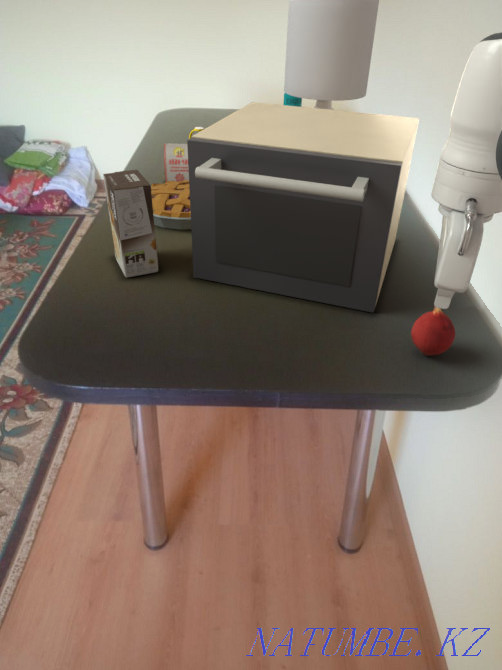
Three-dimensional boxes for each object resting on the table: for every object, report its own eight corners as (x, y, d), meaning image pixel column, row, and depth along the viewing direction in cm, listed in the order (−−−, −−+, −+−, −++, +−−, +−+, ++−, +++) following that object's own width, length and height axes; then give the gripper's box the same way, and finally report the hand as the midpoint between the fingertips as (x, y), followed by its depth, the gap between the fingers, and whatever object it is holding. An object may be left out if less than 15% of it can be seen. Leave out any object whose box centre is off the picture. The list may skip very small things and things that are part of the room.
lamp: (367, 162, 150) (392, -3, 127) (335, 182, 136) (356, -1, 112) (302, 149, 160) (315, -6, 137) (265, 166, 145) (272, -5, 122)
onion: (443, 344, 77) (457, 298, 72) (451, 368, 72) (466, 321, 68) (404, 341, 77) (414, 295, 73) (409, 365, 73) (421, 317, 68)
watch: (188, 148, 159) (187, 128, 155) (191, 145, 161) (190, 125, 158) (206, 150, 158) (206, 129, 154) (209, 147, 160) (209, 127, 156)
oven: (375, 308, 85) (403, 161, 71) (197, 273, 93) (191, 136, 80) (395, 240, 107) (419, 118, 93) (249, 217, 115) (252, 102, 101)
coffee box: (160, 272, 93) (152, 185, 84) (125, 278, 91) (113, 190, 82) (146, 251, 100) (137, 168, 91) (113, 257, 98) (101, 172, 89)
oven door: (367, 332, 79) (396, 178, 65) (179, 292, 87) (169, 149, 74) (375, 308, 85) (402, 162, 71) (197, 273, 93) (191, 137, 79)
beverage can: (298, 141, 168) (301, 91, 159) (280, 140, 168) (283, 90, 160) (299, 137, 172) (303, 88, 164) (282, 136, 173) (285, 87, 164)
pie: (127, 231, 108) (124, 208, 105) (148, 194, 125) (146, 174, 123) (232, 235, 107) (232, 212, 104) (237, 197, 125) (237, 177, 122)
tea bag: (167, 181, 134) (164, 141, 128) (193, 181, 134) (191, 142, 128) (166, 186, 130) (163, 145, 125) (192, 186, 131) (191, 146, 125)
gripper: (505, 223, 52) (466, 335, 60) (498, 166, 68) (468, 260, 76) (440, 213, 54) (411, 323, 62) (448, 159, 69) (424, 252, 77)
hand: (442, 288), depth 69 cm, fingers open, 8 cm apart
